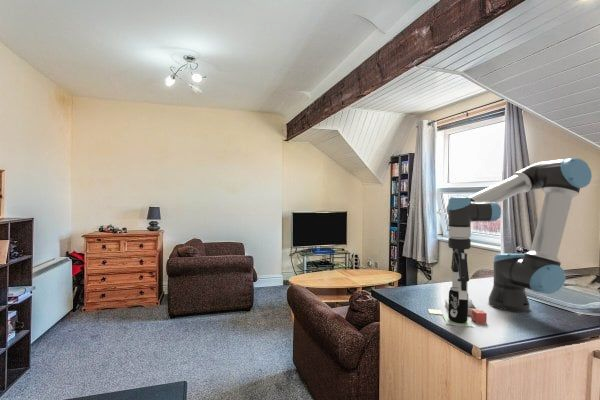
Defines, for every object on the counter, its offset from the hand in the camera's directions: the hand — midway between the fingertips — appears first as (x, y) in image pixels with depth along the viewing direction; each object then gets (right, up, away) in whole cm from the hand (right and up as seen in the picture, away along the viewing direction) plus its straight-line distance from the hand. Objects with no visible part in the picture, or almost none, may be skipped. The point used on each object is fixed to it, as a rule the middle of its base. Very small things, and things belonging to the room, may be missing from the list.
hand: (459, 293), depth 121 cm
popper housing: (+7, -11, +12) cm, 18 cm away
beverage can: (-1, -10, 0) cm, 10 cm away
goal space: (-1, -10, 0) cm, 10 cm away
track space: (-5, -10, +9) cm, 15 cm away
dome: (+7, -9, +12) cm, 17 cm away
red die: (+8, -11, +1) cm, 13 cm away
